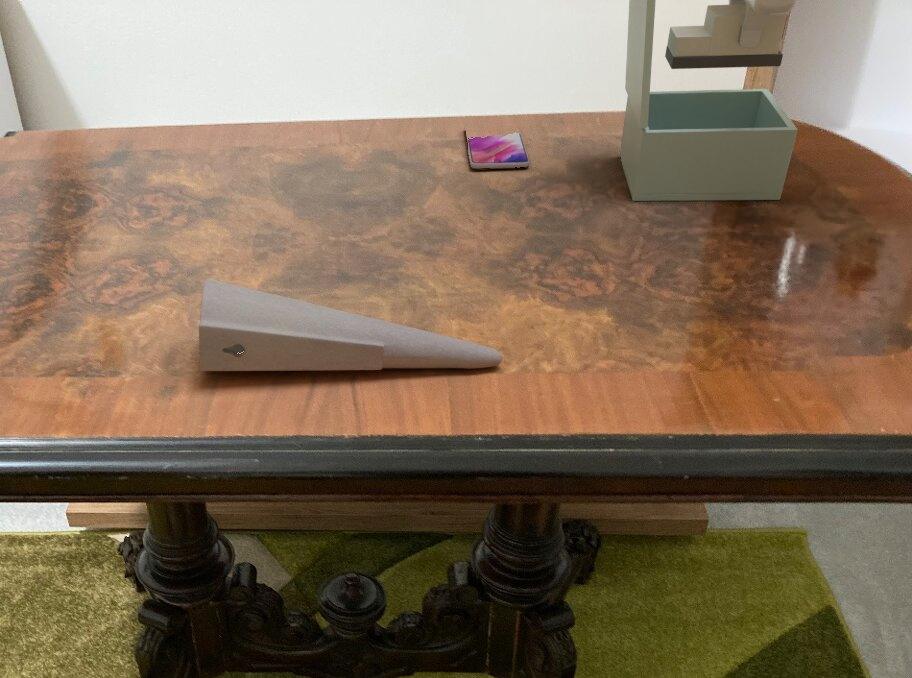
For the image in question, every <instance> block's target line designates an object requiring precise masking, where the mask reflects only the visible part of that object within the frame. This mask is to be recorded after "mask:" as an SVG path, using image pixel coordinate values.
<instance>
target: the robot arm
mask: <svg viewBox="0 0 912 678" xmlns="http://www.w3.org/2000/svg"><path fill="white" fill-rule="evenodd" d="M796 2H797V0H728V5H733V4H746V8H745V12H746V15H745V18H744V22H743V26H740V31H739V36H738V43H739V44H740V46H741V47H742V48H754V47H756V46H757V45H758V43H759V39H760V35H761V31H762V29H763V27H764V25H765V23H766V21H767V19H768V17H769V15H770V13H787V14H788V13H789V12H791V11H792V9H793V8H794V6H795V4H796Z"/></svg>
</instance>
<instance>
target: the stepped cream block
mask: <svg viewBox="0 0 912 678" xmlns="http://www.w3.org/2000/svg"><path fill="white" fill-rule="evenodd" d="M745 8H746V4H733V5H729V4H711V5H710V4H708V5H707V7H706V13H705V17H704V24H703V25H682V26H681V25H680V26H677V25H676V26H670V27H669V32H668V38H667V44H666V49H665V55H664V57H665V59H666V61H667V63H668V65H669V67H670V69H671V70H684V69H685V70H686V69H688V70H689V69H716V68H717V69H728V68H730V69H731V68H761V67H762V68H764V67H765V68H766V67H781V65H782V61H783V58H784V57H783V56H784V54H783V53H782V52H781V50H780V47H781V42H782V40H783V39H784V34H785V29H786V25H787V22H788V17H789V14H788V12H787V13H770V15H769V17H768V19H767V21H766V23H765V25H764V27H763V29H762V31H761V35H760V39H759V43H758V45H757V46H756V47H754V48H742V47H741V46H740V44H739V43H738V36H739V31H740V26H743V22H744V18H745V15H746V12H745Z"/></svg>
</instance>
